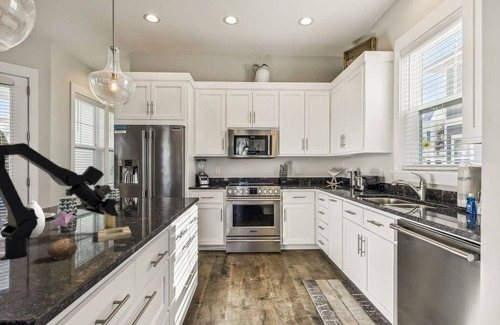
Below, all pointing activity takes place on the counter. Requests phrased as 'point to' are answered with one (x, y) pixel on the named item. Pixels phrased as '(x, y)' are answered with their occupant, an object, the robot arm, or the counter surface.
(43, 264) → the counter surface
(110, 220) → the brass cylinder peg
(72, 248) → the potato
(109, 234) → the jig
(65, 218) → the lily
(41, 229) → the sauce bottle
